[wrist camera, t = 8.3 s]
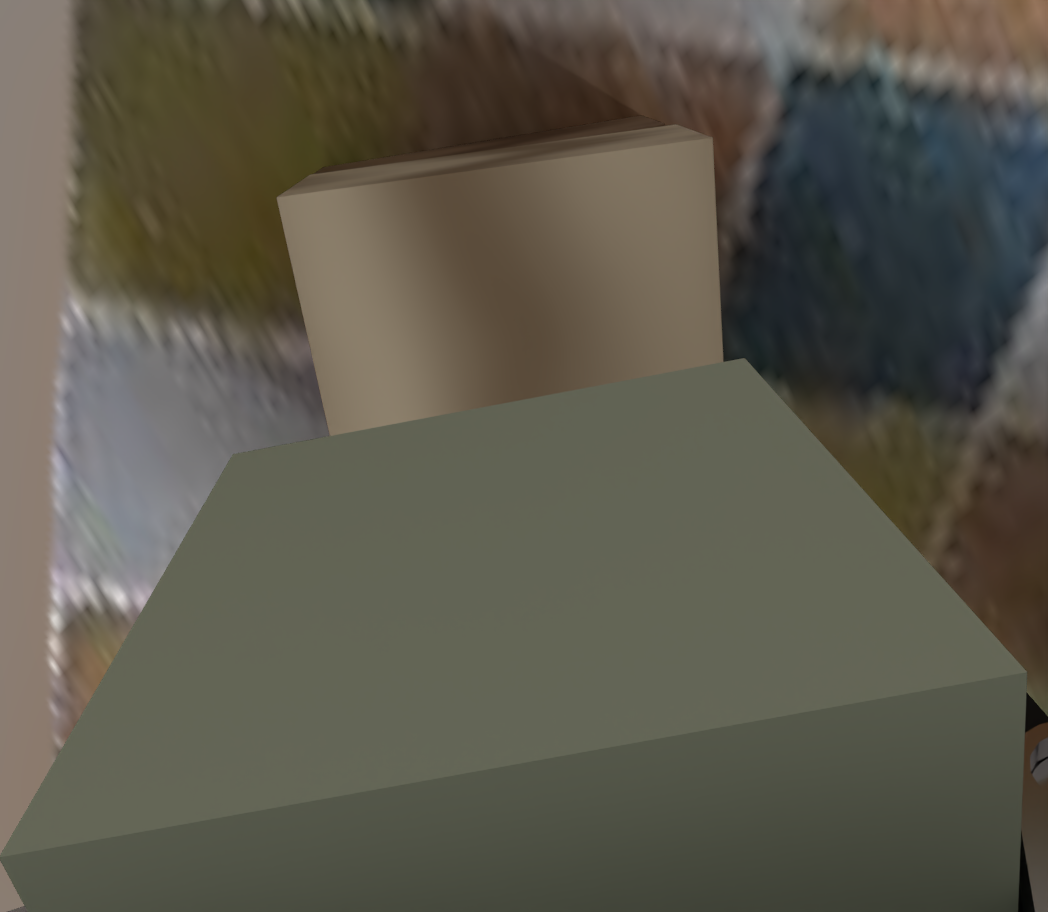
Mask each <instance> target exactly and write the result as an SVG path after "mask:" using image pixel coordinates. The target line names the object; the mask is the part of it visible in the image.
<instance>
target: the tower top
mask: <svg viewBox="0 0 1048 912" xmlns="http://www.w3.org/2000/svg"><path fill="white" fill-rule="evenodd" d="M277 202H278V206H279V211H280V215H281V220H282V224H283V229H284V233H285V238H286V242H287V247H288V251H289V255H290V260H291V264H292V269H293V273H294V278H295V282H296V287H297V291H298V296H299V300H300V305H301V309H302V314H303V318H304V323H305V327H306V331H307V336H308V340H309V345H310V349H311V354H312V358H313V363H314V367H315V372H316V376H317V381H318V385H319V390H320V394H321V399H322V403H323V407H324V412H325V416H326V421H327V425H328V430H329V434H330V436H333V435H338V434H344V433H349V432H354V431H359V430H365V429H370V428H375V427H381V426H386V425H391V424H397V423H402V422H407V421H413V420H418V419H423V418H429V417H434V416H439V415H444V414H450V413H455V412H460V411H466V410H471V409H476V408H482V407H487V406H492V405H498V404H503V403H508V402H514V401H519V400H524V399H530V398H535V397H540V396H545V395H551V394H556V393H561V392H567V391H572V390H577V389H583V388H588V387H593V386H599V385H604V384H609V383H615V382H620V381H625V380H631V379H636V378H641V377H646V376H652V375H657V374H662V373H668V372H673V371H678V370H684V369H689V368H694V367H700V366H705V365H710V364H716V363H721V362H723V344H722V323H721V302H720V281H719V260H718V239H717V218H716V197H715V176H714V155H713V138H712V137H710V136H707V135H704V134H701V133H699V132H696V131H693V130H691V129H688V128H685V127H682V126H680V125H677V124H676V125H669V126H661V127H654V128H647V129H640V130H632V131H625V132H618V133H610V134H603V135H596V136H589V137H581V138H574V139H567V140H559V141H552V142H545V143H538V144H530V145H523V146H516V147H508V148H501V149H494V150H487V151H479V152H472V153H465V154H457V155H450V156H443V157H436V158H428V159H421V160H414V161H406V162H399V163H392V164H385V165H377V166H370V167H363V168H355V169H348V170H341V171H334V172H326V173H319V174H312V175H309V176H307V177H306V178H304V179H303V180H301V181H300V182H298V183H297V184H295V185H294V186H293V187H291V188H290V189H288V190H287V191H285V192H284V193H282V194H281V195H279V196H278V197H277Z"/></svg>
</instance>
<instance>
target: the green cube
mask: <svg viewBox="0 0 1048 912" xmlns="http://www.w3.org/2000/svg"><path fill="white" fill-rule="evenodd" d="M1026 690H1027V671H1026V670H1025V669H1024V668H1023V667H1022V666H1021V665H1020V664H1019V662H1018V661H1017V660H1016V659H1015V658H1014V657H1013V656H1012V655H1011V653H1010V652H1009V651H1008V650H1007V649H1006V648H1005V647H1004V646H1003V645H1002V643H1001V642H1000V641H999V640H998V639H997V638H996V637H995V636H994V635H993V633H992V632H991V631H990V630H989V629H988V628H987V627H986V626H985V625H984V623H983V622H982V621H981V620H980V619H979V618H978V617H977V616H976V615H975V613H974V612H973V611H972V610H971V609H970V608H969V607H968V606H967V605H966V603H965V602H964V601H963V600H962V599H961V598H960V597H959V596H958V595H957V593H956V592H955V591H954V590H953V589H952V588H951V587H950V586H949V585H948V583H947V582H946V581H945V580H944V579H943V578H942V577H941V576H940V575H939V573H938V572H937V571H936V570H935V569H934V568H933V567H932V566H931V565H930V563H929V562H928V561H927V560H926V559H925V558H924V557H923V556H922V555H921V553H920V552H919V551H918V550H917V549H916V548H915V547H914V546H913V545H912V543H911V542H910V541H909V540H908V539H907V538H906V537H905V536H904V535H903V533H902V532H901V531H900V530H899V529H898V528H897V527H896V526H895V525H894V523H893V522H892V521H891V520H890V519H889V518H888V517H887V516H886V515H885V513H884V512H883V511H882V510H881V509H880V508H879V507H878V506H877V505H876V503H875V502H874V501H873V500H872V499H871V498H870V497H869V496H868V495H867V493H866V492H865V491H864V490H863V489H862V488H861V487H860V486H859V485H858V483H857V482H856V481H855V480H854V479H853V478H852V477H851V476H850V475H849V473H848V472H847V471H846V470H845V469H844V468H843V467H842V466H841V465H840V463H839V462H838V461H837V460H836V459H835V458H834V457H833V456H832V455H831V453H830V452H829V451H828V450H827V449H826V448H825V447H824V446H823V445H822V443H821V442H820V441H819V440H818V439H817V438H816V437H815V436H814V435H813V433H812V432H811V431H810V430H809V429H808V428H807V427H806V426H805V425H804V423H803V422H802V421H801V420H800V419H799V418H798V417H797V416H796V415H795V413H794V412H793V411H792V410H791V409H790V408H789V407H788V406H787V405H786V403H785V402H784V401H783V400H782V399H781V398H780V397H779V396H778V395H777V393H776V392H775V391H774V390H773V389H772V388H771V387H770V386H769V385H768V383H767V382H766V381H765V380H764V379H763V378H762V377H761V376H760V374H759V373H758V372H757V371H756V370H755V369H754V368H753V367H752V366H751V364H750V363H749V362H748V361H747V360H746V359H745V358H742V359H737V360H731V361H726V362H721V363H716V364H710V365H705V366H700V367H694V368H689V369H684V370H678V371H673V372H668V373H662V374H657V375H652V376H646V377H641V378H636V379H631V380H625V381H620V382H615V383H609V384H604V385H599V386H593V387H588V388H583V389H577V390H572V391H567V392H561V393H556V394H551V395H545V396H540V397H535V398H530V399H524V400H519V401H514V402H508V403H503V404H498V405H492V406H487V407H482V408H476V409H471V410H466V411H460V412H455V413H450V414H444V415H439V416H434V417H429V418H423V419H418V420H413V421H407V422H402V423H397V424H391V425H386V426H381V427H375V428H370V429H365V430H359V431H354V432H349V433H344V434H338V435H333V436H328V437H322V438H317V439H312V440H306V441H301V442H296V443H290V444H285V445H280V446H274V447H269V448H264V449H258V450H253V451H248V452H243V453H237V454H233V455H232V457H231V458H230V460H229V462H228V464H227V465H226V467H225V469H224V471H223V472H222V474H221V476H220V477H219V479H218V481H217V483H216V484H215V486H214V488H213V489H212V491H211V493H210V495H209V496H208V498H207V500H206V502H205V503H204V505H203V507H202V508H201V510H200V512H199V514H198V515H197V517H196V519H195V520H194V522H193V524H192V526H191V527H190V529H189V531H188V533H187V534H186V536H185V538H184V539H183V541H182V543H181V545H180V546H179V548H178V550H177V551H176V553H175V555H174V557H173V558H172V560H171V562H170V564H169V565H168V567H167V569H166V570H165V572H164V574H163V576H162V577H161V579H160V581H159V582H158V584H157V586H156V588H155V589H154V591H153V593H152V595H151V596H150V598H149V600H148V601H147V603H146V605H145V607H144V608H143V610H142V612H141V613H140V615H139V617H138V619H137V620H136V622H135V624H134V626H133V627H132V629H131V631H130V632H129V634H128V636H127V638H126V639H125V641H124V643H123V644H122V646H121V648H120V650H119V651H118V653H117V655H116V657H115V658H114V660H113V662H112V663H111V665H110V667H109V669H108V670H107V672H106V674H105V675H104V677H103V679H102V681H101V682H100V684H99V686H98V688H97V689H96V691H95V693H94V694H93V696H92V698H91V700H90V701H89V703H88V705H87V706H86V708H85V710H84V712H83V713H82V715H81V717H80V719H79V720H78V722H77V724H76V725H75V727H74V729H73V731H72V732H71V734H70V736H69V737H68V739H67V741H66V743H65V744H64V746H63V748H62V750H61V751H60V753H59V755H58V756H57V758H56V760H55V762H54V763H53V765H52V767H51V768H50V770H49V772H48V774H47V775H46V777H45V779H44V781H43V782H42V784H41V786H40V788H39V789H38V791H37V793H36V794H35V796H34V798H33V799H32V801H31V803H30V805H29V806H28V808H27V810H26V812H25V813H24V815H23V817H22V818H21V820H20V822H19V824H18V825H17V827H16V829H15V831H14V832H13V834H12V836H11V837H10V839H9V841H8V843H7V844H6V846H5V848H4V850H3V851H2V853H1V855H0V861H1V863H2V864H3V866H4V868H5V870H6V872H7V873H8V876H9V878H10V879H11V881H12V883H13V885H14V887H15V889H16V890H17V892H18V894H19V896H20V898H21V900H22V902H23V904H24V906H25V907H26V909H27V911H28V912H1018V897H1019V871H1020V845H1021V819H1022V793H1023V768H1024V742H1025V716H1026Z"/></svg>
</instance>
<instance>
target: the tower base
mask: <svg viewBox="0 0 1048 912" xmlns="http://www.w3.org/2000/svg"><path fill="white" fill-rule="evenodd" d="M661 126H665V124H664V123H661V122H658V121H656V120H653V119H650V118H647V117H645V116H642V115H640V116H634V117H628V118H622V119H616V120H610V121H604V122H597V123H591V124H585V125H579V126H573V127H567V128H561V129H555V130H548V131H542V132H536V133H530V134H524V135H518V136H512V137H506V138H499V139H493V140H487V141H481V142H475V143H469V144H463V145H457V146H450V147H444V148H438V149H432V150H426V151H420V152H414V153H407V154H401V155H395V156H389V157H383V158H377V159H371V160H365V161H358V162H352V163H346V164H340V165H334V166H328V167H323V168H321V169H320V170H318V171H317V172H316V173H314V174H319V173H326V172H334V171H341V170H348V169H355V168H363V167H370V166H377V165H385V164H392V163H399V162H406V161H414V160H421V159H428V158H436V157H443V156H450V155H457V154H465V153H472V152H479V151H487V150H494V149H501V148H508V147H516V146H523V145H530V144H538V143H545V142H552V141H559V140H567V139H574V138H581V137H589V136H596V135H603V134H610V133H618V132H625V131H632V130H640V129H647V128H654V127H661Z"/></svg>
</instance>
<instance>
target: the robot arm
mask: <svg viewBox="0 0 1048 912" xmlns="http://www.w3.org/2000/svg"><path fill="white" fill-rule="evenodd" d="M8 912H28V911H27V909H26V907H25V906H23V907H20V908H17V909H14V910H11V911H8ZM1018 912H1048V717H1047V715H1046V714H1045V713H1044V712H1043V711H1042V710H1041V708H1040V707H1039V706H1038V705H1037V704H1036V703H1035V702H1034V700H1033V699H1032V698H1031V697H1030V696H1029V695H1028V693H1027V692H1026V716H1025V742H1024V768H1023V793H1022V819H1021V845H1020V871H1019V897H1018Z"/></svg>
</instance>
